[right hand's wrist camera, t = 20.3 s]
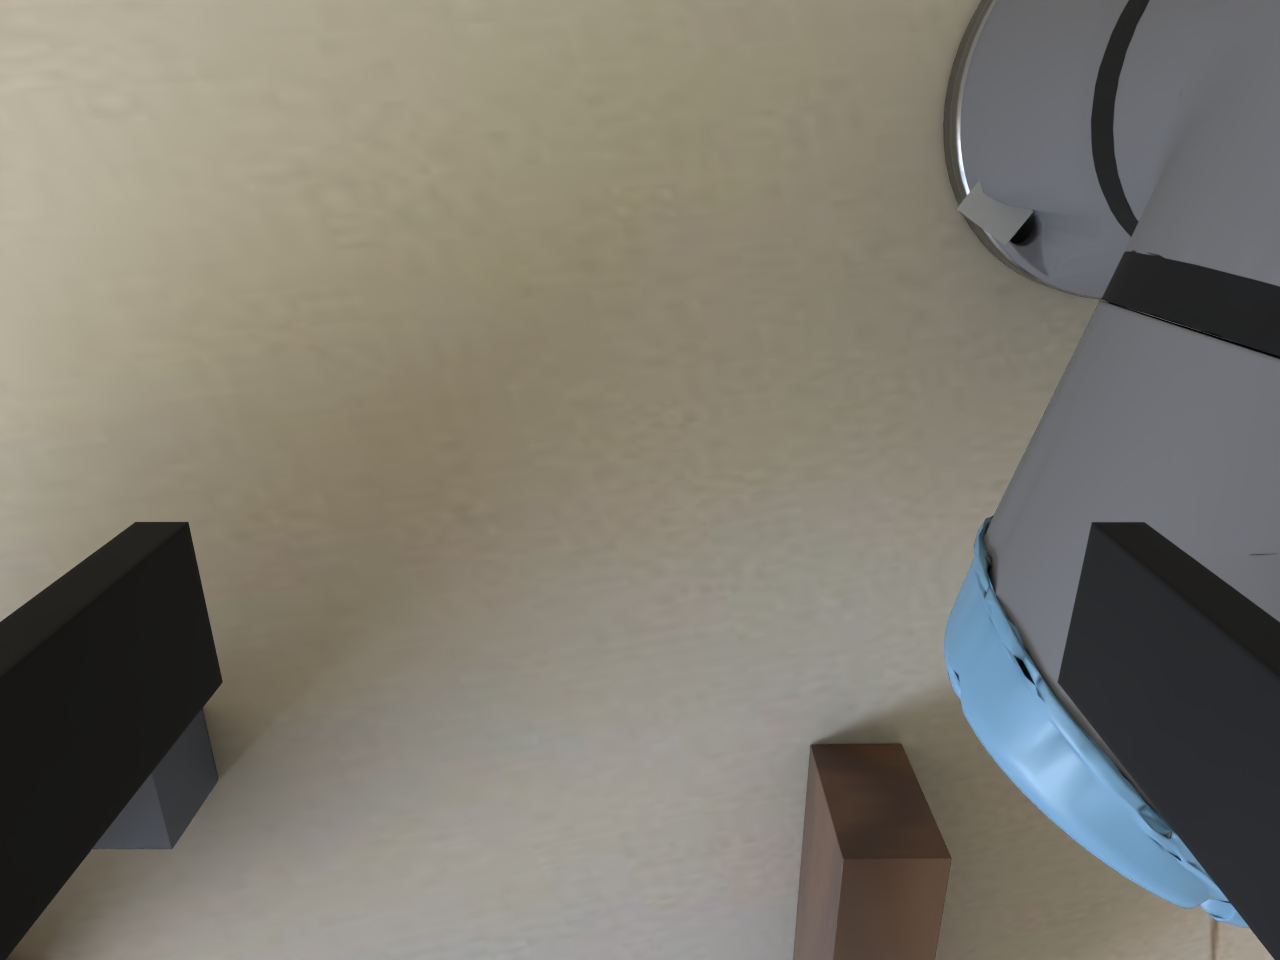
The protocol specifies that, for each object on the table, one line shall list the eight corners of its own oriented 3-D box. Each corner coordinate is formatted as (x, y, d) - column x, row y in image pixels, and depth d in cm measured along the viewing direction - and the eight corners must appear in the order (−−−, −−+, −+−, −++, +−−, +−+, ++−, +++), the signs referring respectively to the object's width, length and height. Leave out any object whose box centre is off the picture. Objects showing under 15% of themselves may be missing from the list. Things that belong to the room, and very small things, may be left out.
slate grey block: (201, 705, 45) (151, 769, 41) (218, 780, 47) (172, 849, 42) (108, 705, 45) (47, 769, 41) (129, 780, 47) (73, 849, 42)
